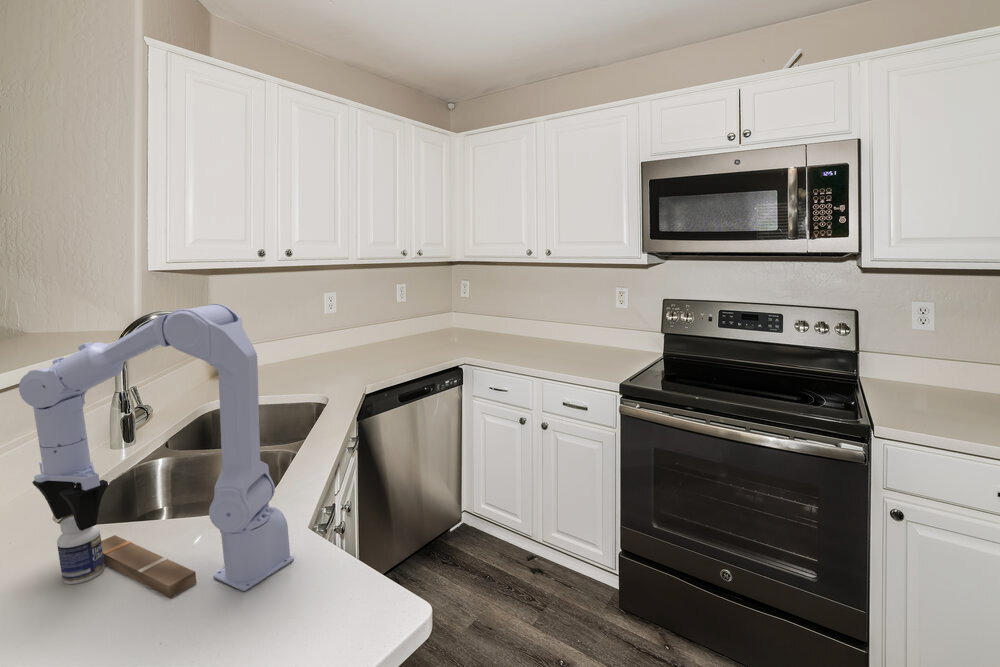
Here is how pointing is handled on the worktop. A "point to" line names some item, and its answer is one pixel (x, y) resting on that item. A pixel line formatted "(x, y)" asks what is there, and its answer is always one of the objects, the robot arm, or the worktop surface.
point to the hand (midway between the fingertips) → (76, 521)
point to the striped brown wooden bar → (147, 567)
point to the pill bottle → (79, 552)
